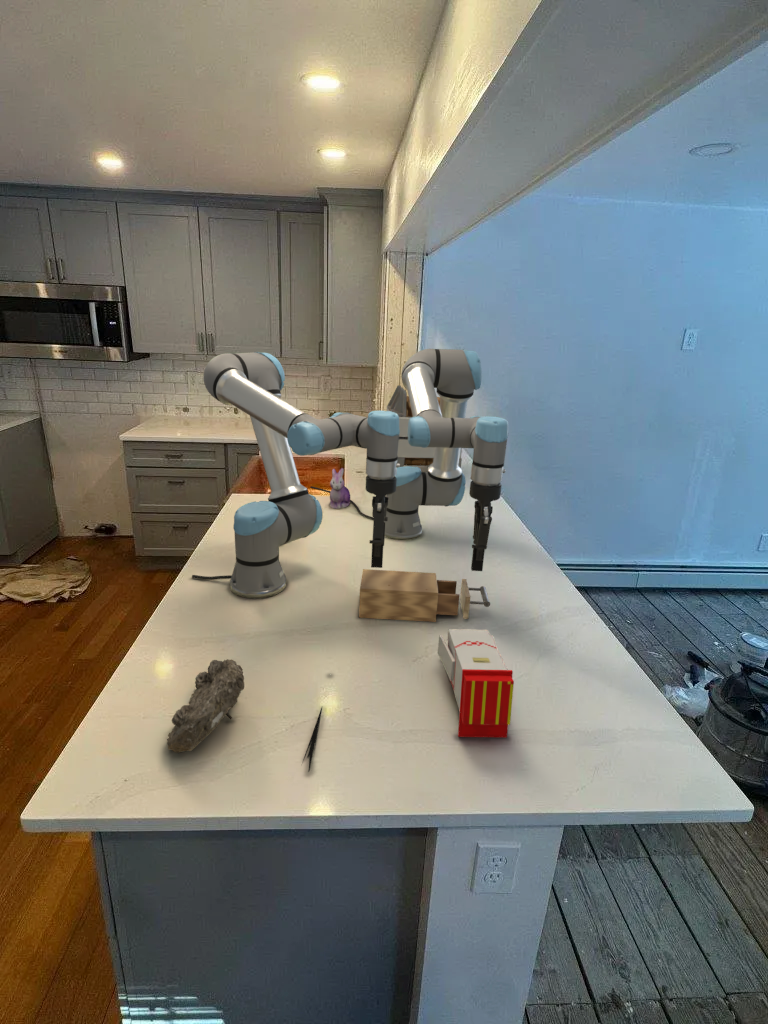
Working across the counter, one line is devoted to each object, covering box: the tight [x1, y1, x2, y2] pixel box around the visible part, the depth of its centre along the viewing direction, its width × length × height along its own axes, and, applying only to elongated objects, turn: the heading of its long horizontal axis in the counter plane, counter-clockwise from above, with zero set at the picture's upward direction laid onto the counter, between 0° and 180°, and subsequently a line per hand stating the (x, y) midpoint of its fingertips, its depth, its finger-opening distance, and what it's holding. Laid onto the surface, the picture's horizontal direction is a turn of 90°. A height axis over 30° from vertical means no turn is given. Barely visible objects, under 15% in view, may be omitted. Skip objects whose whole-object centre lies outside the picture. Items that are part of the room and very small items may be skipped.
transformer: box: [386, 384, 463, 469], centre depth 268 cm, size 34×33×41 cm
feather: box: [301, 673, 332, 771], centre depth 108 cm, size 2×28×2 cm
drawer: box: [436, 578, 491, 620], centre depth 148 cm, size 24×10×6 cm, turn 88°
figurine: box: [329, 467, 351, 509], centre depth 223 cm, size 9×10×15 cm
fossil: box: [166, 658, 245, 754], centre depth 106 cm, size 22×10×15 cm
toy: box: [437, 628, 515, 738], centre depth 117 cm, size 12×13×30 cm
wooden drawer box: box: [358, 568, 438, 623], centre depth 149 cm, size 20×11×8 cm, turn 88°
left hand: (377, 555), depth 145 cm, fingers open, 13 cm apart
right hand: (476, 569), depth 145 cm, fingers closed
